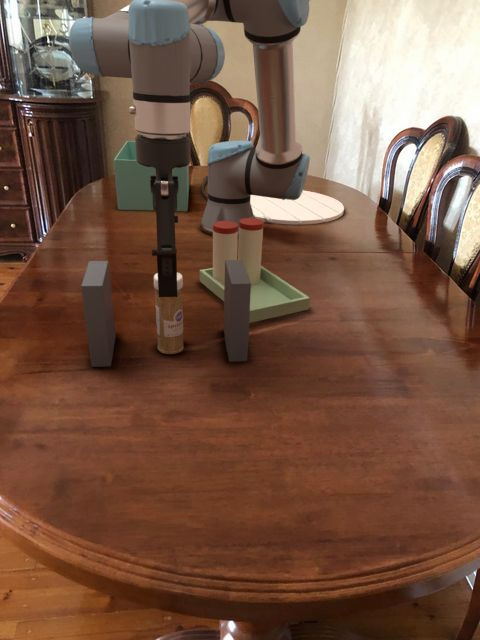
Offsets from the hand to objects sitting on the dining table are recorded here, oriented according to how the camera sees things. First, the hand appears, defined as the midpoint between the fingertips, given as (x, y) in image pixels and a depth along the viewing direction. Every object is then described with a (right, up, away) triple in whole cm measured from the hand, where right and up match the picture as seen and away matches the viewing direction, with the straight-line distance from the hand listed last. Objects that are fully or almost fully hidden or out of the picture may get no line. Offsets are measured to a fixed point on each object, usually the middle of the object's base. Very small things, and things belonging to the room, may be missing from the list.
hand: (167, 278), depth 83 cm
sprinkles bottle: (-1, -11, +7) cm, 13 cm away
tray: (+13, 0, +26) cm, 29 cm away
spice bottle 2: (+12, +4, +32) cm, 34 cm away
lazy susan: (+21, +36, +89) cm, 98 cm away
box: (-20, +39, +90) cm, 100 cm away
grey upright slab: (+10, -11, +9) cm, 17 cm away
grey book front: (-12, -11, +5) cm, 17 cm away
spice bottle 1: (+7, +3, +29) cm, 30 cm away
